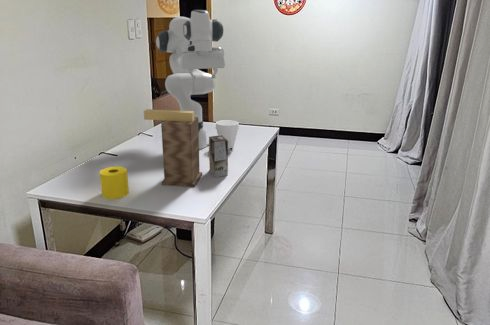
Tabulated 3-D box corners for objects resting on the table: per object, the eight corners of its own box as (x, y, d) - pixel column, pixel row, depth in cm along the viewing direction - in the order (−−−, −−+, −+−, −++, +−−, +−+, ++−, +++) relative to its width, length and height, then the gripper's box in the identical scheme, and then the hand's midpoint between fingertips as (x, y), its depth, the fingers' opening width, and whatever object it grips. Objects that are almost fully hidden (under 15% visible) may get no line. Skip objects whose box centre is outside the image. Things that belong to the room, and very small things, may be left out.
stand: (161, 184, 166) (157, 123, 157) (171, 172, 179) (168, 115, 171) (194, 186, 164) (192, 124, 156) (202, 174, 178) (201, 116, 169)
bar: (144, 119, 163) (143, 111, 162) (147, 117, 167) (146, 109, 165) (192, 121, 161) (192, 113, 160) (194, 119, 164) (194, 111, 163)
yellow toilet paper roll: (113, 187, 163) (111, 165, 160) (134, 190, 160) (132, 168, 157) (96, 196, 154) (93, 173, 151) (118, 200, 151) (115, 177, 148)
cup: (239, 144, 222) (240, 120, 217) (237, 151, 210) (237, 125, 206) (217, 143, 223) (217, 119, 218) (213, 150, 211) (213, 125, 207)
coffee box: (228, 175, 177) (228, 140, 172) (214, 177, 175) (214, 141, 170) (222, 168, 185) (222, 135, 180) (208, 170, 183) (208, 136, 178)
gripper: (221, 47, 188) (222, 77, 191) (178, 48, 180) (180, 79, 183) (226, 47, 182) (227, 78, 185) (181, 47, 174) (184, 80, 178)
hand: (203, 79), depth 184 cm, fingers open, 8 cm apart
